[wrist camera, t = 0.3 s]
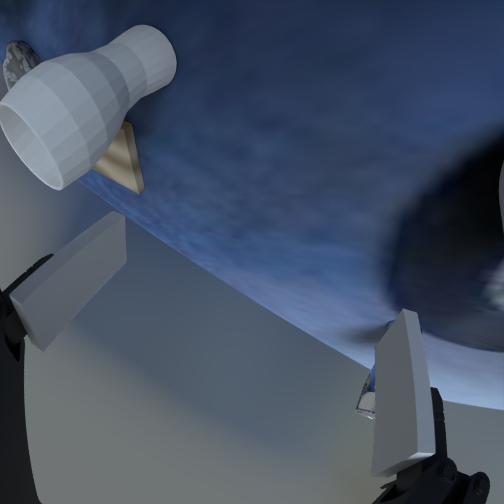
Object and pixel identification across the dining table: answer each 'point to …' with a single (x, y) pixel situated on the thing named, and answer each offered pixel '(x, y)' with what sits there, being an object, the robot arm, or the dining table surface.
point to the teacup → (502, 193)
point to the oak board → (122, 160)
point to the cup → (82, 103)
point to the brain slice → (18, 62)
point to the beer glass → (369, 393)
